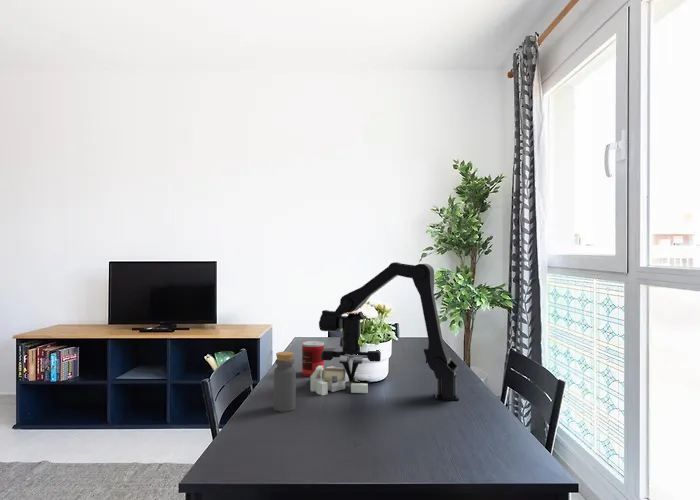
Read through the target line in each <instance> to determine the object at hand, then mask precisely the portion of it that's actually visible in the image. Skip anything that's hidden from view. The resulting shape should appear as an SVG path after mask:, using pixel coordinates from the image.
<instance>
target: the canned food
mask: <svg viewBox="0 0 700 500" xmlns="http://www.w3.org/2000/svg"><path fill="white" fill-rule="evenodd" d="M324 349H325V342H323V341H320V340H310V341H309V340H308V341H304V342H302V346H301V357H302V359H301V370H302V371H301V373H302V376H304V377H308V378H311V375H312V374H313V373H314V371H315V370H316V368H317V367H318V366H323V369H325V360H321V353H322V351H323V350H324Z"/></svg>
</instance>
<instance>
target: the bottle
mask: <svg viewBox="0 0 700 500" xmlns="http://www.w3.org/2000/svg"><path fill="white" fill-rule="evenodd" d="M294 354H295V353H294V352H293V351H279V352H278V351H277V352H276V359H275V360H274V362H275V365H276V367H274V369H273V410H274V411H275V412H281V413H285V412H292V411H293V410H295V409H296V392H297V391H296V390H297V389H296V387H297V386H296V376H297V375H296V371H297V370H296V368H295V367H294V366H293V365H294V364H295V359H294Z"/></svg>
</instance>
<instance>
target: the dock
mask: <svg viewBox="0 0 700 500" xmlns="http://www.w3.org/2000/svg"><path fill="white" fill-rule="evenodd" d="M329 367H335V366H327V367H325V368H329ZM356 382H358V383H356ZM368 387H369V386H368V383H366V382H365V383H364V382H359V381H358V380H357V379H356V378H355V377H354V382H350V393H352V394H353V393H354V394H368ZM309 390H310V392H316V394H317V395H319V396H326V395H328V391H329V390H328V383H327V382H325V381H324V379H323V366H318V367H317V368H316V370H315V371H314V373H313V374H312V375H311V377H310V389H309Z"/></svg>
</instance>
